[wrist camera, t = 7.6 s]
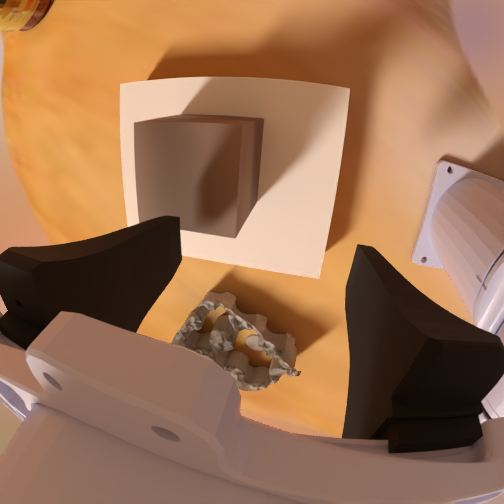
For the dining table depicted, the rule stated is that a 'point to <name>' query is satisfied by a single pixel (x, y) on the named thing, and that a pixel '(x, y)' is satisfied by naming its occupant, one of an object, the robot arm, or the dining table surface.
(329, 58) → the dining table surface
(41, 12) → the sauce bottle
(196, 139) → the walnut cube
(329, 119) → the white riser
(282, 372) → the egg carton
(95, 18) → the dining table surface
